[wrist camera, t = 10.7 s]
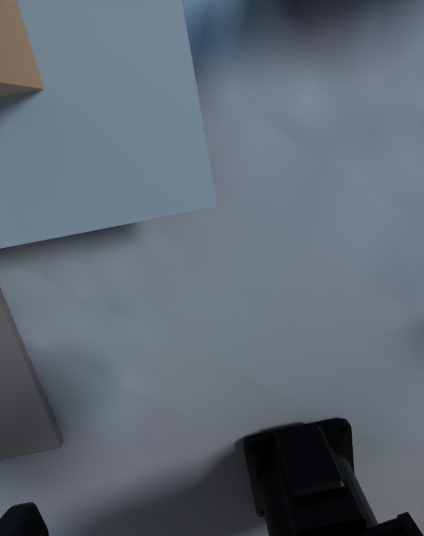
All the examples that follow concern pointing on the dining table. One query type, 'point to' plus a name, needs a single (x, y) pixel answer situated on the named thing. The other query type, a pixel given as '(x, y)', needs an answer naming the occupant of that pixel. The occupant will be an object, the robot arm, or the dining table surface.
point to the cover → (97, 117)
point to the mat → (21, 397)
